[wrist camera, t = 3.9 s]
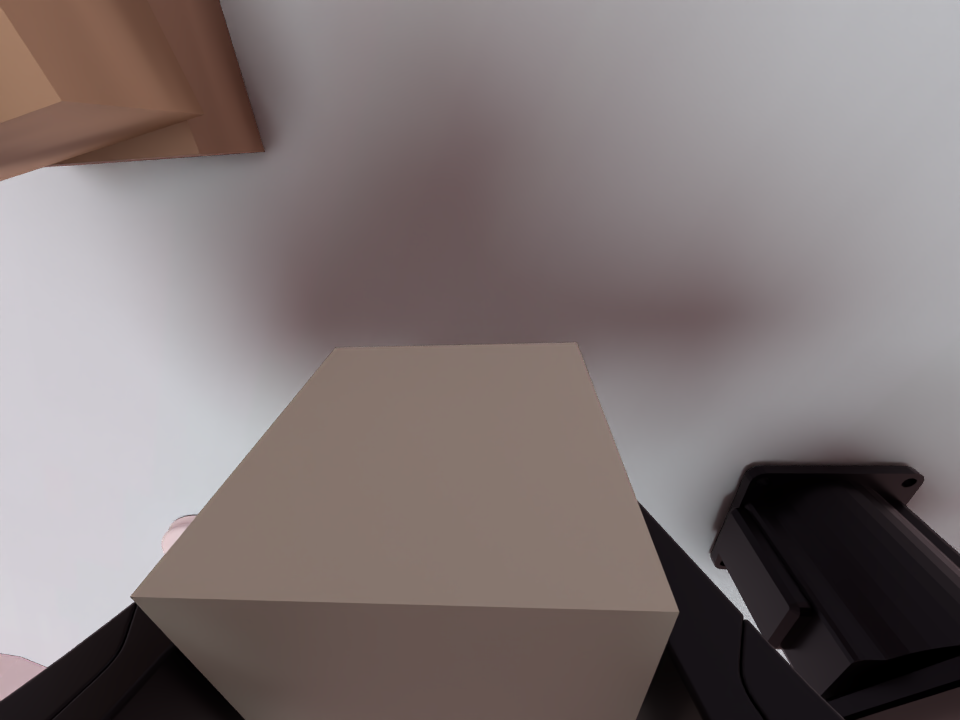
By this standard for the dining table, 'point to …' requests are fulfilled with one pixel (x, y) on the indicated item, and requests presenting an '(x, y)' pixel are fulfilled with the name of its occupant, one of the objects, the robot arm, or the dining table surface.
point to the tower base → (215, 82)
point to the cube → (425, 549)
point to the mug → (16, 673)
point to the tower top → (83, 79)
